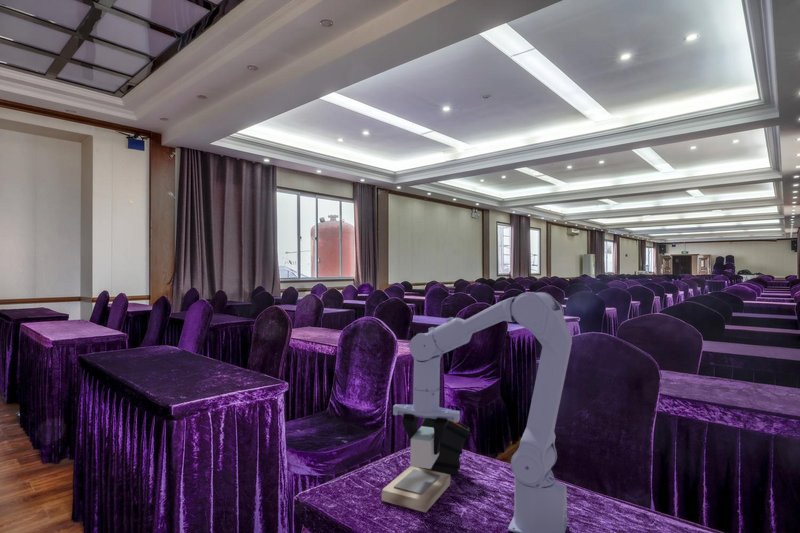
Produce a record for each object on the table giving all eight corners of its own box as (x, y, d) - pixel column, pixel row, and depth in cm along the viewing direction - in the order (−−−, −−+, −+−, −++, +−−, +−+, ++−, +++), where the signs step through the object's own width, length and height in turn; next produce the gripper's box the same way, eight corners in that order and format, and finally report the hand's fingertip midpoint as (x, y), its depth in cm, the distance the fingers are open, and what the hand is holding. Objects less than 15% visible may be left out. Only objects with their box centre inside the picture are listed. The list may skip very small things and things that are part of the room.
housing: (430, 469, 93) (431, 439, 93) (410, 465, 94) (410, 437, 94) (439, 455, 100) (439, 427, 101) (420, 452, 102) (420, 425, 102)
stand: (450, 484, 101) (450, 473, 101) (425, 512, 89) (425, 499, 89) (410, 475, 106) (410, 464, 106) (381, 500, 93) (381, 488, 93)
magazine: (401, 458, 111) (428, 405, 111) (449, 485, 110) (477, 431, 110) (400, 464, 108) (428, 409, 107) (449, 492, 106) (477, 436, 106)
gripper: (462, 387, 99) (461, 449, 99) (400, 381, 104) (399, 440, 103) (456, 394, 93) (455, 461, 92) (390, 388, 97) (389, 451, 97)
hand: (425, 451), depth 97 cm, fingers closed on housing, 4 cm apart
